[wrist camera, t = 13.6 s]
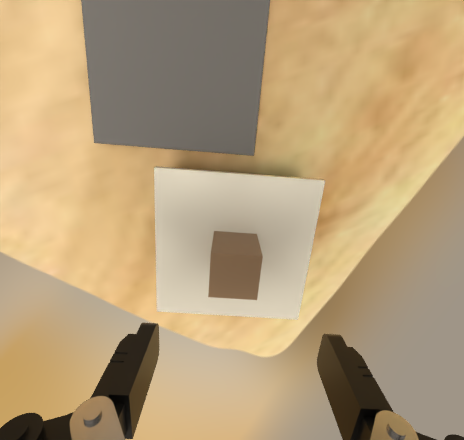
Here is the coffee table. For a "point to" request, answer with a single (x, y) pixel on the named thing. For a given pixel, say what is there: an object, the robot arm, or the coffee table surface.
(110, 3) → the rubber mat
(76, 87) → the coffee table surface
